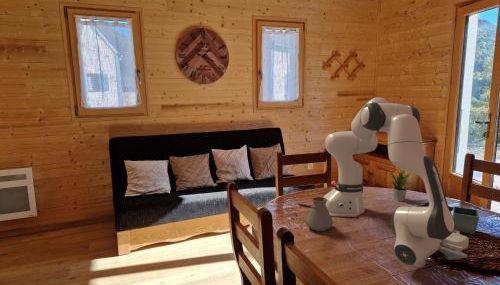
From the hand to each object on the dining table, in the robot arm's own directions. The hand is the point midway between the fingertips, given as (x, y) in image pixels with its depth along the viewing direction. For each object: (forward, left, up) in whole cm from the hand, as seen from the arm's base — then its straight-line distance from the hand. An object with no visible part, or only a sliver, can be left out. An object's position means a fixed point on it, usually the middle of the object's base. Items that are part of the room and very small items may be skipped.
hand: (443, 228), depth 124 cm
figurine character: (+11, +23, -7) cm, 27 cm away
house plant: (+10, +49, -7) cm, 51 cm away
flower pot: (+16, +10, -7) cm, 21 cm away
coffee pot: (-45, +18, -7) cm, 49 cm away
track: (-1, +2, -7) cm, 7 cm away
